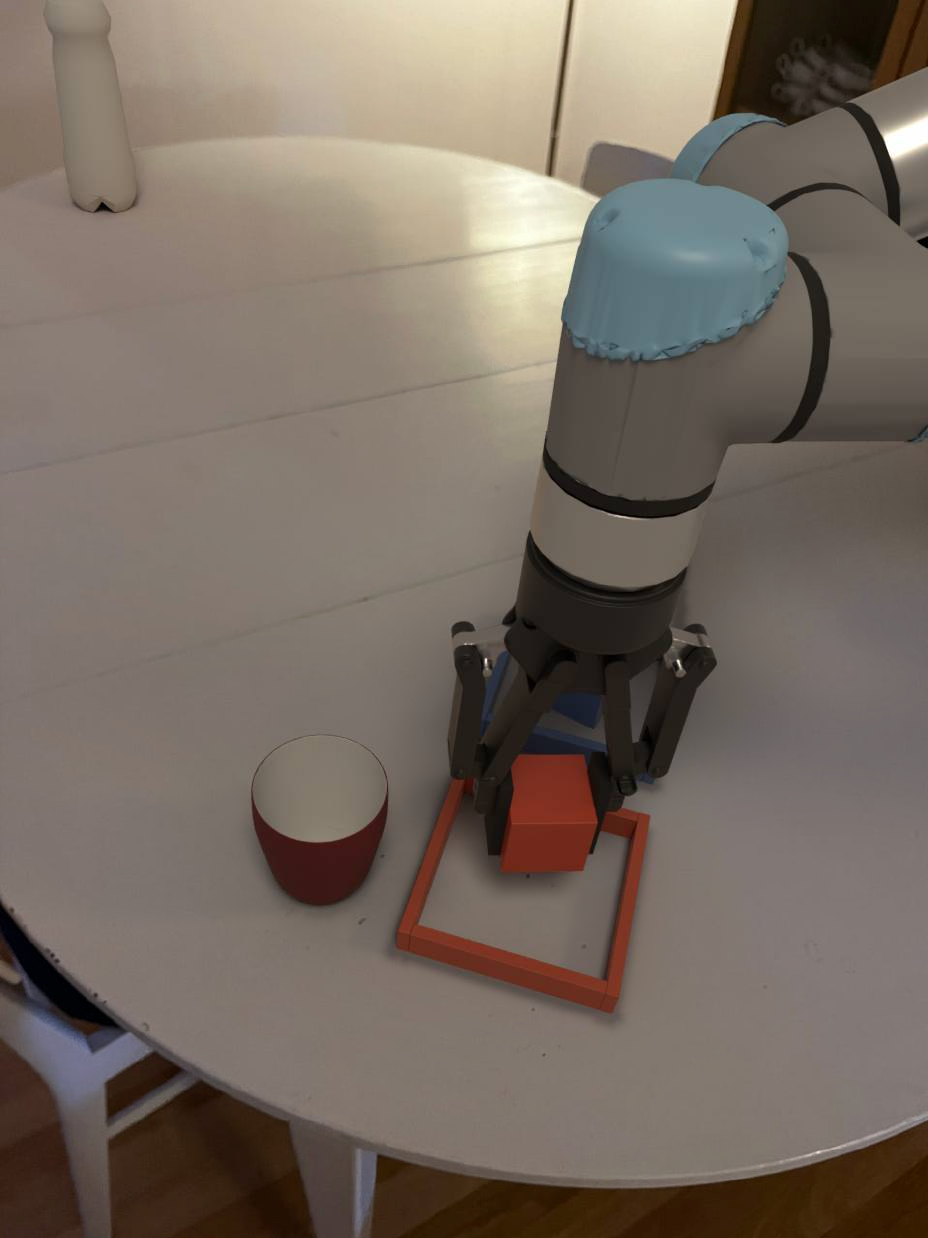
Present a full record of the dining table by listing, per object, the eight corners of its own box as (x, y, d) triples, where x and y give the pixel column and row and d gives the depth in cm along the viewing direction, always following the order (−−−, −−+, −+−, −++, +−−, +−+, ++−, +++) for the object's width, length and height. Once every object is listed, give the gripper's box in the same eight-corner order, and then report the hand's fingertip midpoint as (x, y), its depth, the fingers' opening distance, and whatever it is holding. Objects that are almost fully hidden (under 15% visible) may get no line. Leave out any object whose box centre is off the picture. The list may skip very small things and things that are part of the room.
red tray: (641, 840, 71) (650, 815, 69) (609, 1021, 61) (619, 997, 59) (455, 788, 73) (458, 762, 71) (395, 955, 63) (397, 930, 61)
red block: (570, 803, 65) (584, 754, 62) (583, 871, 61) (598, 823, 58) (493, 804, 64) (502, 754, 61) (501, 873, 61) (511, 824, 57)
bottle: (74, 189, 143) (30, -64, 123) (141, 190, 145) (109, -59, 124) (67, 215, 137) (21, -47, 116) (138, 216, 138) (104, -42, 118)
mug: (307, 786, 72) (304, 691, 65) (414, 822, 71) (422, 728, 64) (236, 911, 65) (225, 817, 58) (354, 953, 63) (357, 863, 56)
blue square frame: (672, 666, 84) (681, 640, 82) (650, 792, 74) (659, 766, 72) (513, 625, 86) (517, 599, 84) (471, 743, 76) (474, 717, 74)
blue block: (618, 693, 81) (631, 648, 77) (592, 733, 77) (603, 688, 74) (562, 666, 82) (572, 621, 79) (534, 704, 79) (543, 659, 76)
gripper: (772, 498, 51) (666, 786, 66) (409, 488, 48) (389, 788, 64) (822, 600, 45) (694, 887, 61) (416, 594, 43) (393, 892, 59)
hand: (538, 835), depth 63 cm, fingers closed on red block, 5 cm apart
